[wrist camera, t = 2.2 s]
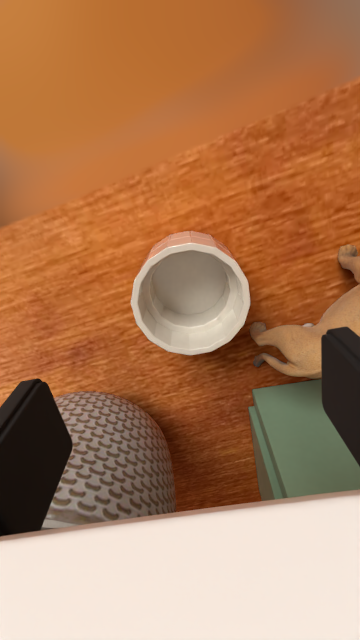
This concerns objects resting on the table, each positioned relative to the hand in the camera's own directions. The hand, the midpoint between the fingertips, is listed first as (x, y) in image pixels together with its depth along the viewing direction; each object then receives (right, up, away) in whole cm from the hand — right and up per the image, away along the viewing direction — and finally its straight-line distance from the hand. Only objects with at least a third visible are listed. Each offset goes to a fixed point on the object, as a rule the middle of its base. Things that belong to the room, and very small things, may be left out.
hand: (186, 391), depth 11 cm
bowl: (0, +5, +12) cm, 13 cm away
